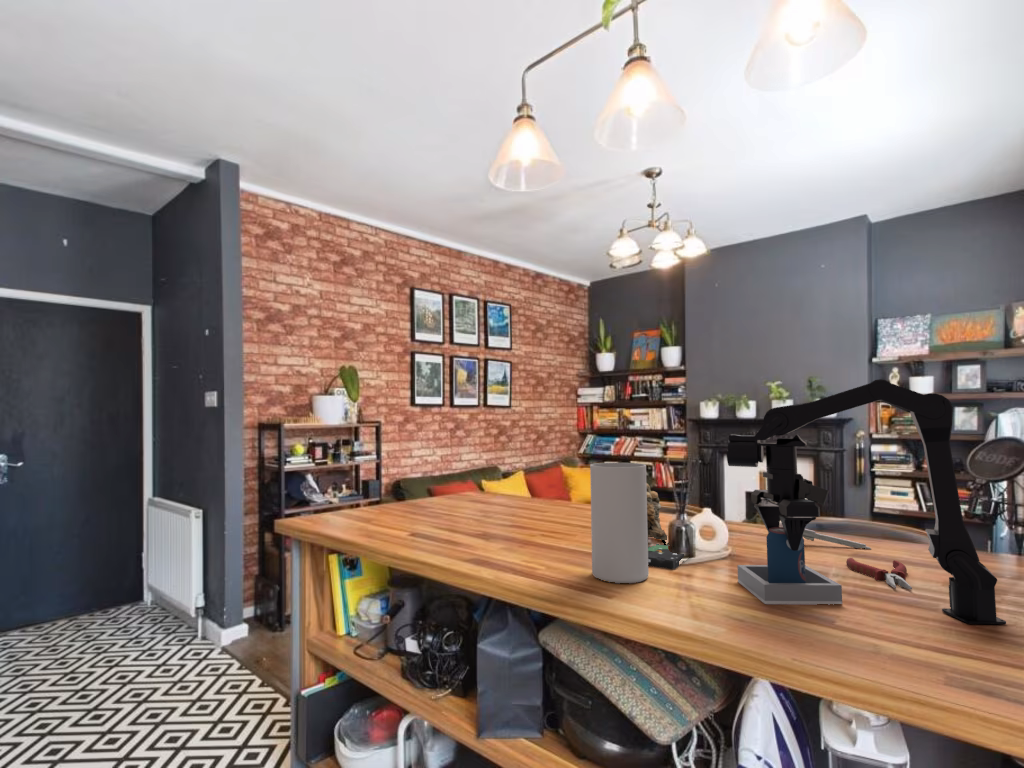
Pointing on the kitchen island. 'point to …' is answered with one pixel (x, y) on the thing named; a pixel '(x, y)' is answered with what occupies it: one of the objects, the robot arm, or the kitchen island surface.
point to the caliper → (831, 539)
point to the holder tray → (789, 587)
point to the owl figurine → (654, 516)
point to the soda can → (784, 558)
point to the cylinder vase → (619, 522)
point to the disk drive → (663, 557)
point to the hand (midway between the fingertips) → (784, 545)
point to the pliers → (882, 572)
